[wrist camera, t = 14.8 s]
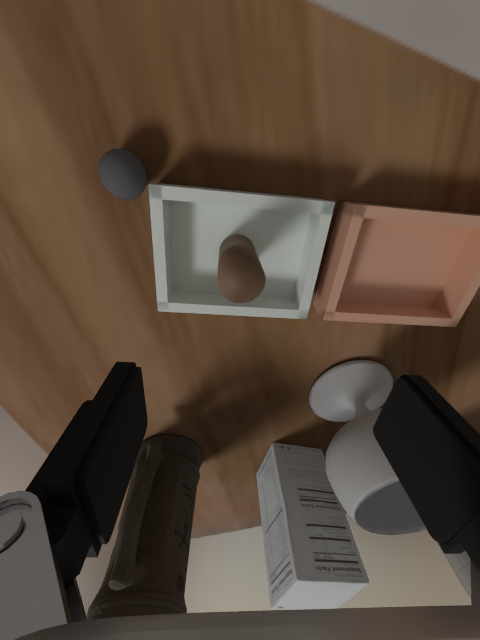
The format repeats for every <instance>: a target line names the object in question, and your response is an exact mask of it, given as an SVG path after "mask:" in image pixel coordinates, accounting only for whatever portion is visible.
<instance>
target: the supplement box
mask: <svg viewBox="0 0 480 640" xmlns="http://www.w3.org/2000/svg"><path fill="white" fill-rule="evenodd" d="M257 484H258V493H259V502H260V511H261V521H262V529H263V538H264V548H265V558H266V567H267V577H268V586H269V595H270V604H271V608H273V609H337V608H338V607H339V606H340V605H342V604H343V603H344V602H345V601H347V600H348V599H349V598H351V597H352V596H353V595H354V594H356V593H357V592H358V591H359V590H361V589H362V588H363V587H364V586H366V585H367V584H368V583H369V579H368V576H367V574H366V571H365V568H364V566H363V563H362V560H361V557H360V554H359V552H358V549H357V546H356V543H355V541H354V538H353V535H352V532H351V529H350V527H349V524H348V521H347V518H346V516H345V513H344V510H343V507H342V505H341V503H340V501H339V500H338V498H337V496H336V494H335V492H334V490H333V488H332V486H331V484H330V482H329V480H328V477H327V473H326V460H325V457H324V455H323V452H322V449H317V448H310V447H303V446H296V445H289V444H281V443H272V445H271V447H270V448H269V450H268V452H267V454H266V456H265V458H264V460H263V462H262V464H261V466H260V468H259V470H258V472H257Z"/></svg>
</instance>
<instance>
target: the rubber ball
mask: <svg viewBox="0 0 480 640" xmlns="http://www.w3.org/2000/svg"><path fill="white" fill-rule="evenodd" d="M98 170H99V176H100V179H101V182H102V183H103V185H104V187H105V188H106V189H107V190H108V191H109V192H110V193H111V194H113V195H114V196H116V197H118V198H121V199H133V198H136V197H138V196H139V195H140V194H141V193H142V192H143V191H144V189H145V186H146V181H147V177H146V172H145V169H144V167H143V165H142V163H141V162H140V160H139V159H138V158H137V157H136V156H135V155H133V154H132V153H130V152H128V151H126V150H122V149H113V150H110V151H108V152H106V153H105V154H104V155H103V156H102V158H101V160H100V162H99V168H98Z"/></svg>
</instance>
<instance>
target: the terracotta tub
mask: <svg viewBox="0 0 480 640" xmlns="http://www.w3.org/2000/svg"><path fill="white" fill-rule="evenodd" d="M479 287H480V214H473V213H463V212H452V211H442V210H432V209H421V208H411V207H401V206H390V205H380V204H370V203H360V202H349V201H339V205H338V209H337V213H336V217H335V221H334V225H333V229H332V233H331V237H330V241H329V245H328V249H327V253H326V257H325V261H324V265H323V268H322V272H321V276H320V280H319V284H318V288H317V292H316V296H315V300H314V304H313V306H314V307H315V309H316V310H317V312H318V313H319V315H320V316H321V318H322V319H323V320H332V321H351V322H369V323H388V324H407V325H426V326H444V327H456V326H457V324H458V323H459V321H460V319H461V318H462V316H463V314H464V312H465V311H466V309H467V307H468V306H469V304H470V302H471V300H472V299H473V297H474V295H475V293H476V292H477V290H478V288H479Z"/></svg>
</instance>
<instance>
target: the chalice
mask: <svg viewBox="0 0 480 640" xmlns="http://www.w3.org/2000/svg"><path fill="white" fill-rule="evenodd" d="M392 388H393V377H392V375H391V372H390V371H389V370H388V369H387V368H386V367H385V366H384V365H382V364H380V363H378V362H374V361H371V360H354V361H348V362H345V363H342V364H339V365H337V366H335V367H333V368H331V369H329V370H328V371H326V372H325V373H323V374H322V375H321V376H320V377H319V378H318V379H317V380H316V381H315V383H314V384H313V386H312V388H311V390H310V393H309V404H310V407H311V409H312V410H313V412H314V413H315V414H316V415H318V416H319V417H321V418H323V419H325V420H329V421H334V422H347V421H349V422H348V423H347V424H345V425H344V426H343V427H342V428H341V429H340V430H339V431H338V432H337V433H336V434H335V435H334V437H333V438H332V440H331V442H330V444H329V446H328V449H327V452H326V473H327V477H328V480H329V482H330V484H331V486H332V488H333V490H334V492H335V494H336V496H337V498H338V500H339V501H340V503H341V505H342V506H343V507H344V509H345V510H346V512H347V513H348V514H349V515H350V516H351V518H352V519H353V520H354V521H355V522H356V523H357V524H358V525H359V526H360V527H362V528H363V529H364V530H367V531H369V532H372V533H377V534H384V535H385V534H386V535H396V534H397V535H399V534H407V533H414V532H419V531H422V530H427V529H426V527H425V525H424V523H423V522H422V520H421V518H420V516H419V514H418V513H417V511H416V509H415V507H414V506H413V504H412V502H411V500H410V499H409V497H408V495H407V493H406V492H405V490H404V488H403V486H402V484H401V483H400V481H399V479H398V477H397V476H396V474H395V472H394V470H393V469H392V467H391V465H390V463H389V462H388V460H387V458H386V456H385V455H384V453H383V451H382V449H381V447H380V446H379V444H378V442H377V440H376V439H375V437H374V434H373V427H374V424H375V422H376V420H377V418H378V416H379V414H380V412H381V410H382V408H381V409H379V408H380V407H381V406H382V405H383V404H384V403H385V402H386V400H387V398H388V396H389V394H390V392H391V390H392Z"/></svg>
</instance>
